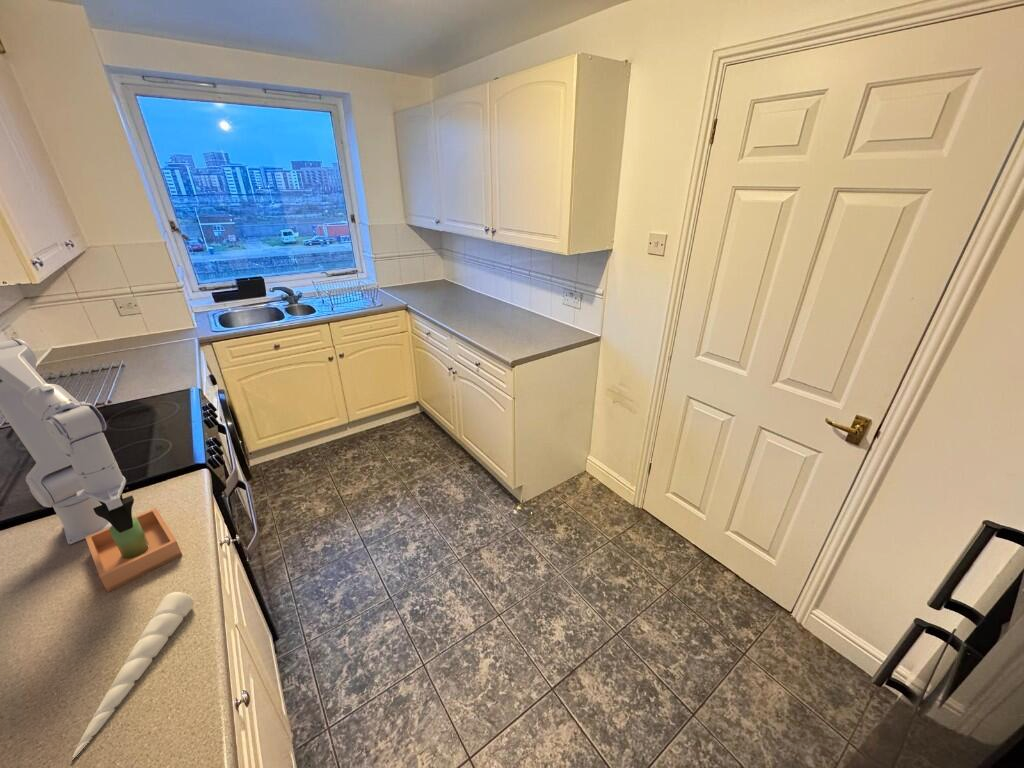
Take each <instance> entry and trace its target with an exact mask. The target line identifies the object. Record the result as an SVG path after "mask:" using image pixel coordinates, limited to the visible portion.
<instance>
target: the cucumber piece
mask: <svg viewBox="0 0 1024 768" xmlns="http://www.w3.org/2000/svg"><path fill="white" fill-rule="evenodd" d="M134 517H135V516H132V520H133V528H131V529H128V530H126V531H124V532H121V533H119V532H118V531H117V530H116V529H115V528H114V527H113V526H111V527H110V529H109V531H110V533H111V535H112V537H113V539H114V541H115V543H116V545H117V547H118V549H119V551H120V553H121V555H122V557H123V558H125V559H130V558H134V557H137V556H139V555H141V554H143V553H144V552H145V551H146V550H147V549H148V548H149V543H148V541H147V539H146V536H145V534H144V532H143V530H142V527H141V525H140V523H139V521H138V519H137V518H134Z"/></svg>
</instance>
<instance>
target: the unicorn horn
mask: <svg viewBox="0 0 1024 768" xmlns="http://www.w3.org/2000/svg"><path fill="white" fill-rule="evenodd" d="M194 603H195V602H194V599H193V597H192V596H191V595H189V594H188V593H185V592H181V591H173V592H170V593H168V594H166V595H165V596H164V597H163V598H162V599H161V601H160V603H159V604H158V607H157V608H156V610H155V612H154V614H153V615H152V617H151V619H150V621H148V623H147V624H146V627H145V628H144V630H143V631H142V633H141V635H140V636H139V637H138V639H137V642H136V643H135V645H134V647H133V648H132V649H131V651H130V652H129V654H128V657H127V658H126V660H125V662H124V663H123V665H122V667H121V668H120V669H119V672H118V673H117V675H116V676H115V678H114V680H113V681H112V684H111V685H110V687H109V689H108V691H107V692H106V694H105V696H104V697H103V699H102V701H101V702H100V704H99V706H98V707H97V710H96V711H95V713H94V715H93V717H92V719H91V720H90V722H89V723H88V726H87V727H86V729H85V731H84V733H83V735H82V736H81V738H80V740H79V742H78V744H77V746H76V748H75V750H74V752H73V754H72V757H75V756H76V755H77V754H78V753H80V751H81V750H82V749H83V748H84V747H85V745H87V743H89V744H90V742H91V741H92V740H91V739H90V738H91V737H92V736H93V737H94V736H95V735H97V733H98V732H99V731H100V730H101V728H102V727H103V726H104V725H105V724H106V722H107V721H108V719H109V718H110V717H111V716H112V714H113V713H114V711H115V710H116V707H118V706H119V705H120V704H121V703H122V702H123V700H124V698H125V697H126V696H127V695H128V693H129V692H130V691H131V690H132V689H133V688H134V686H135V684H136V683H135V682H136V681H138V680H139V679H140V677H141V676H142V675H143V674H144V672H145V671H146V670H147V669H148V667H149V666H150V665H151V664H152V662H153V658H155V657H156V656H157V655H158V654H159V653H160V651H161V650H162V648H163V647H164V646H165V644H166V643H167V641H169V637H171V636H172V635H173V634H174V633H175V631H176V630H177V628H178V627H179V626H180V624H181V623H182V622H183V621H184V618H185V617H187V615H188V614H189V613H190V611H191V610H192V608H193V607H194V605H195V604H194ZM90 740H91V741H90ZM89 741H90V742H89ZM87 746H88V745H87ZM85 748H86V747H85ZM85 748H84V749H85ZM80 754H81V753H80ZM72 757H71V758H72Z"/></svg>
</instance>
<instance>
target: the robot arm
mask: <svg viewBox="0 0 1024 768" xmlns="http://www.w3.org/2000/svg"><path fill="white" fill-rule="evenodd" d="M37 361H38V360H37V357H36V355H35V352H34V350H33V349H32V348H31V346H30V345H29V344H28V343H27V342H26V341H25V340H23V339H20V338H13V339H11V340H5V341H1V342H0V412H1V413H2V415H3V416H4V418H5V419H6V420H7V423H9V425H10V427H11V428H12V429H13V431H14V432H15V434H16V435H17V436H18V438H19V439H20V441H21V442H22V444H23V445H24V447H25V448H26V450H27V451H28V453H29V454H30V455H31V457H32V459H33V460H34V461H35V464H34V466H33V467H32V468H31V469H30V471H28V473H27V475H26V476H25V482H26V484H27V486H28V487H29V490H30V493H31V494H32V496H33V497H34V499H36V501H37V502H38V503H39V504H40V505H41V506H43V507H46V508H53V510H54V512H55V513H56V515H57V517H58V518H59V520H60V522H61V525H62V528H63V532H64V534H65V538H66V541H67V544H68V545H72V544H75V543H77V542H79V541H82V540H84V539H85V540H86V538H85V537H87V536H89V535H92V534H94V533H96V532H99V531H101V530H104V529H106V528H109V527H111V526H113V527H114V528H115V529H116V530H117V531H118V532H119V533H121V532H124V531H126V530H128V529H131V528H133V520H132V517H133V514H132V513H133V511H132V509H133V505H134V502H135V498H134V496H133V495H129V496H126V497H124V498H123V490H124V489H125V486H126V483H127V479H126V477H125V476H124V475H123V473H122V472H121V469H120V468H119V465H118V462H117V460H116V458H115V456H114V454H113V452H112V449H111V446H110V445H109V443H108V441H107V437H106V436H105V433H104V432H103V431H106V430H107V423H106V421H105V418H104V416H103V414H102V413H101V412H100V410H98V408H97V407H96V406H95V405H93V404H92V403H90V402H85V401H78V400H77V399H76V398H75V397H73V395H71V394H70V393H69V391H67V390H65V388H63V387H62V386H61V385H59V384H55V383H47V382H46V380H44V378H43V377H42V376H41V375H40V374H39V373H38V371H37V370H36V368H37V364H38V363H37ZM59 470H60V471H59ZM56 471H58V472H56ZM51 473H52V474H51ZM49 474H50V475H49Z"/></svg>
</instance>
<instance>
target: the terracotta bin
mask: <svg viewBox="0 0 1024 768" xmlns="http://www.w3.org/2000/svg"><path fill="white" fill-rule="evenodd" d="M133 517H134V518H137V519H138V521H139V523H140V525H141V527H142V530H143V532H144V534H145V536H146V539H147V541H148V543H149V548H148V549H147V550H146V551H145V552H144V553H143V554H141V555H139V556H137V557H134V558H130V559H125V558H123V557H122V555H121V553H120V551H119V549H118V547H117V545H116V543H115V541H114V539H113V537H112V535H111V533H110V531H109V529H110V527H109V528H106V529H104V530H101V531H99V532H96V533H94V534H92V535H89V536H87V537H85V540H86V543H87V546H88V549H89V551H90V554H91V557H92V560H93V562H94V565H95V567H96V571H97V573H98V575H99V578H100V580H101V582H102V584H103V586H104V588H105V589H106V591H107V592H108V593H110V592H112V591H114V590H116V589H118V588H120V587H122V586H124V585H126V584H127V583H130V582H132V581H134V580H136V579H138V578H140V577H142V576H143V575H145V574H148V573H149V572H151V571H154V570H155V569H157V568H160V567H162V566H164V565H166V564H168V563H169V562H173V561H174V560H176V559H177V558H179V557H182V556H183V553H182V551H181V549H180V546H179V543H178V541H177V540H176V537H175V536H174V535H173V534H172V531H171V530H170V528H169V527H168V525H167V524H166V521H165V520H164V518H163V517H162V515H161V514H160V513H159V511H158V509H157V508H156V507H155V508H151V509H150V510H147V511H144V512H143V513H142V512H141V513H139V514H137V515H135V516H133Z"/></svg>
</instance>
